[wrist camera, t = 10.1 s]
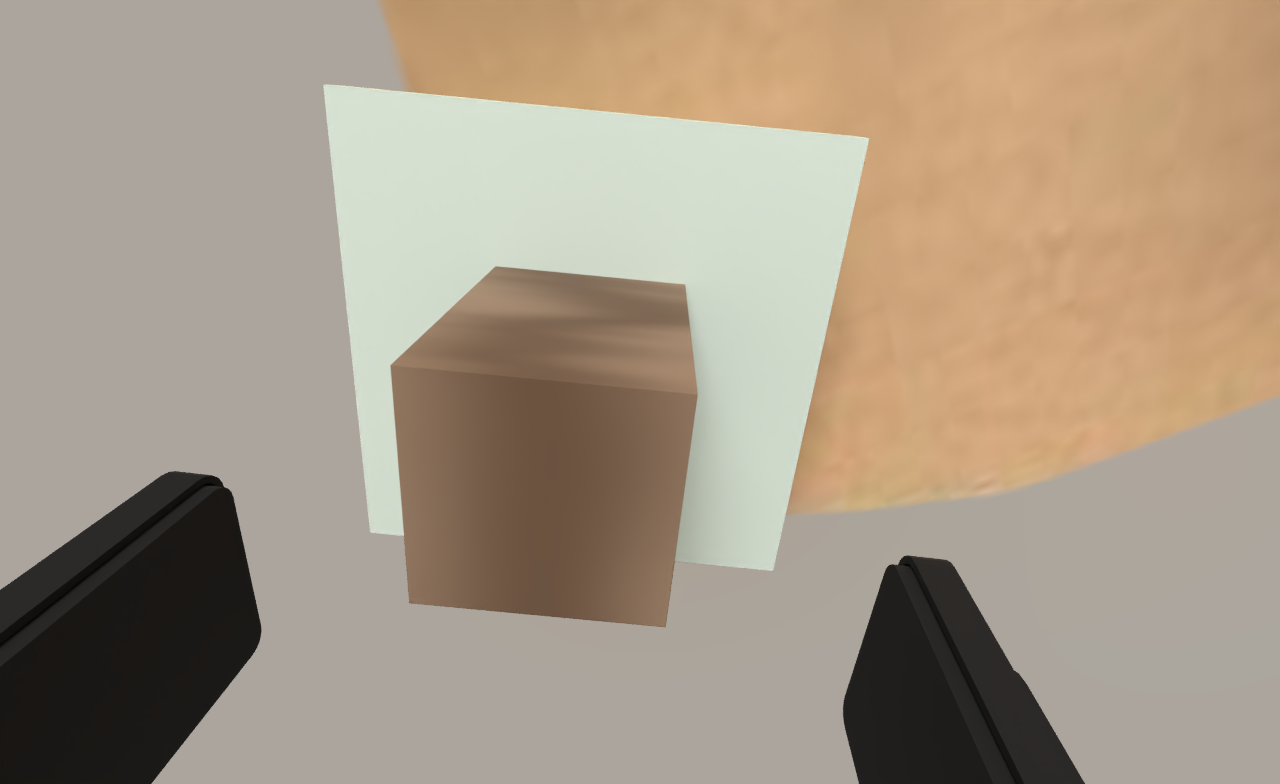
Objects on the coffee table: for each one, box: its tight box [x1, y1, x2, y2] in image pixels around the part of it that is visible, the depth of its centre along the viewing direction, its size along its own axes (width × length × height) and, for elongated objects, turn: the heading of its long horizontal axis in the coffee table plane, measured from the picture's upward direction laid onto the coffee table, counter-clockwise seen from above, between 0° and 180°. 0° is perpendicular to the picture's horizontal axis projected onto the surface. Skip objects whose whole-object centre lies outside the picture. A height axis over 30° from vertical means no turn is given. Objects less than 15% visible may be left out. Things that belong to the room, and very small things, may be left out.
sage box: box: [323, 84, 869, 571], centre depth 20 cm, size 13×13×6 cm
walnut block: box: [390, 266, 698, 627], centre depth 14 cm, size 5×5×7 cm
